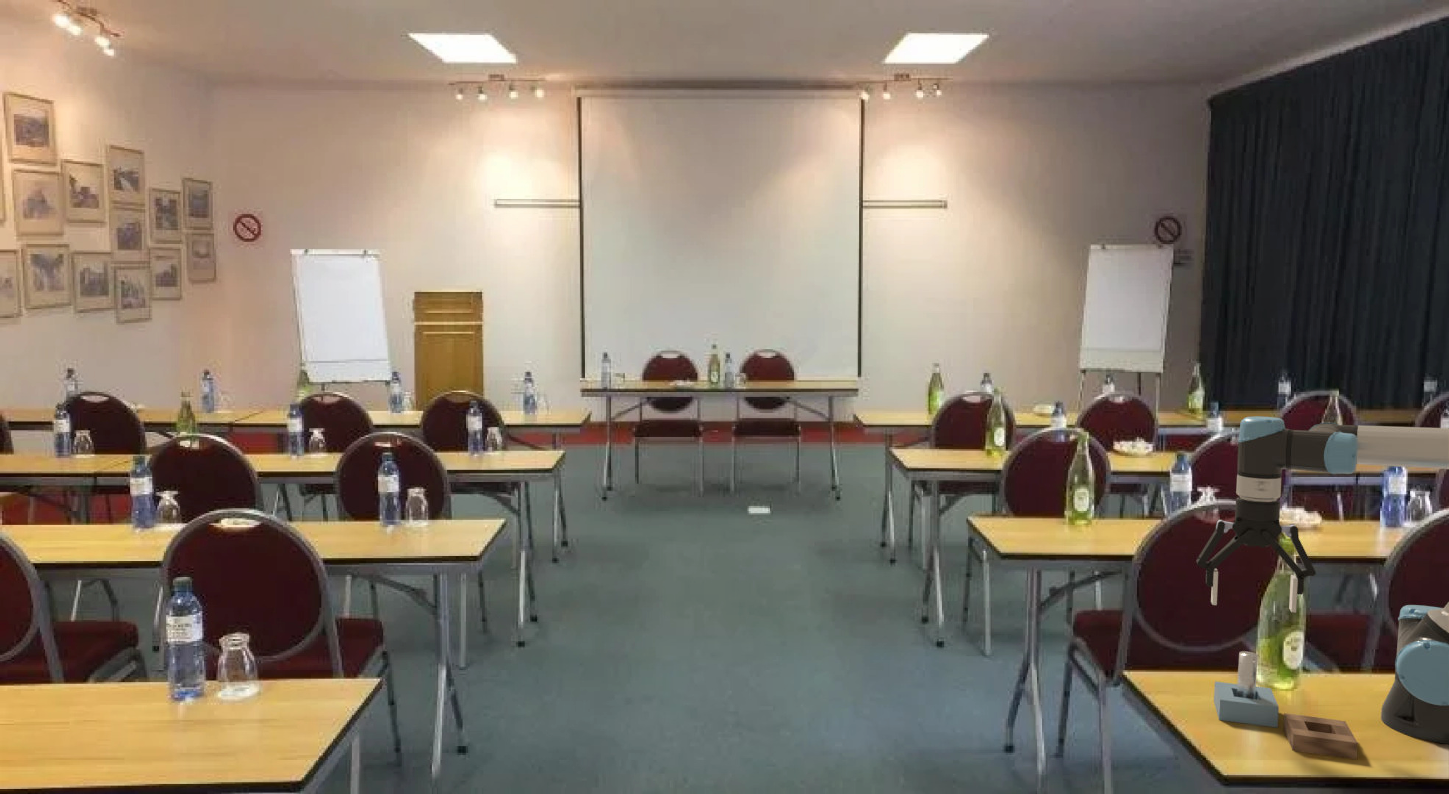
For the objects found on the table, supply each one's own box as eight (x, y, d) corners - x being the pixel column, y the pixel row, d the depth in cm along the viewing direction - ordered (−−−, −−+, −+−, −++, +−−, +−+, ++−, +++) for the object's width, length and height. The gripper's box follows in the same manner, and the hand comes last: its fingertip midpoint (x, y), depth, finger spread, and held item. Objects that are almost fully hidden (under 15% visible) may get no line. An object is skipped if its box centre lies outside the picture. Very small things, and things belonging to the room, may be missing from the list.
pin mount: (1344, 736, 191) (1345, 721, 191) (1356, 759, 182) (1357, 743, 181) (1283, 728, 194) (1284, 713, 194) (1292, 750, 185) (1293, 734, 185)
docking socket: (1269, 708, 204) (1270, 688, 204) (1277, 727, 195) (1278, 707, 194) (1213, 700, 208) (1214, 681, 207) (1219, 719, 198) (1220, 699, 198)
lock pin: (1252, 712, 202) (1256, 652, 201) (1255, 718, 199) (1258, 658, 198) (1234, 709, 203) (1238, 650, 202) (1236, 716, 200) (1240, 655, 199)
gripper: (1188, 497, 198) (1183, 605, 200) (1336, 506, 189) (1330, 619, 191) (1185, 490, 205) (1180, 595, 207) (1328, 498, 196) (1322, 607, 198)
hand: (1252, 607), depth 199 cm, fingers open, 13 cm apart
